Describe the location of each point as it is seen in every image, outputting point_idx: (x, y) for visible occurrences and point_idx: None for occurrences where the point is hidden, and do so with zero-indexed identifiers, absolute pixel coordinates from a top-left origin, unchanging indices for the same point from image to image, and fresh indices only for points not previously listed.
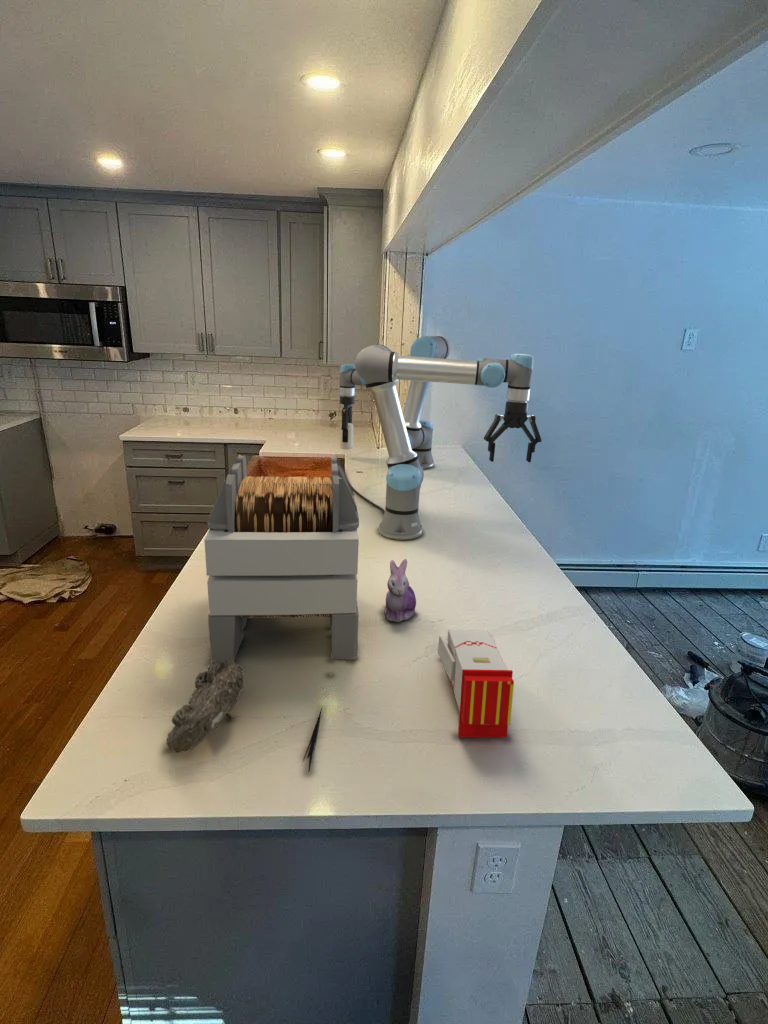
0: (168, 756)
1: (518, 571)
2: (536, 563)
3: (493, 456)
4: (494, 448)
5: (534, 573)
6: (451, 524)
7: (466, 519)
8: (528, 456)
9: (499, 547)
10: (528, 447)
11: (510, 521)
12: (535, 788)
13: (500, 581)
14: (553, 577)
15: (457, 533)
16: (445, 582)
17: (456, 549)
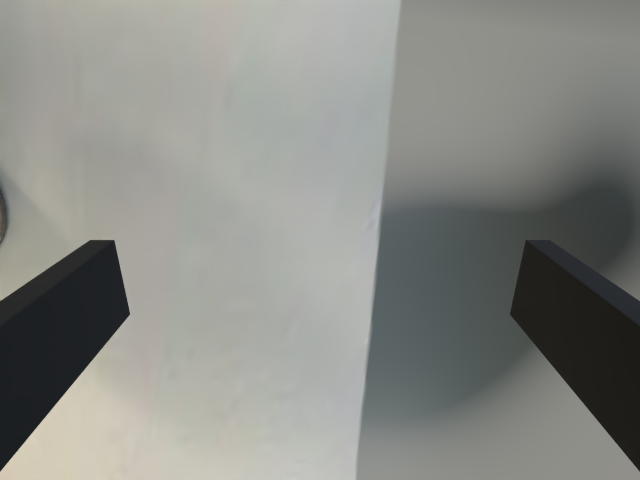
0: None
1: (273, 437)
2: (335, 404)
3: (93, 350)
4: (25, 433)
5: (308, 446)
6: (118, 111)
7: (189, 45)
8: (545, 322)
9: (262, 314)
10: (637, 361)
11: (383, 72)
12: None
13: (217, 473)
14: (346, 461)
15: (138, 205)
16: (95, 475)
17: (127, 326)
